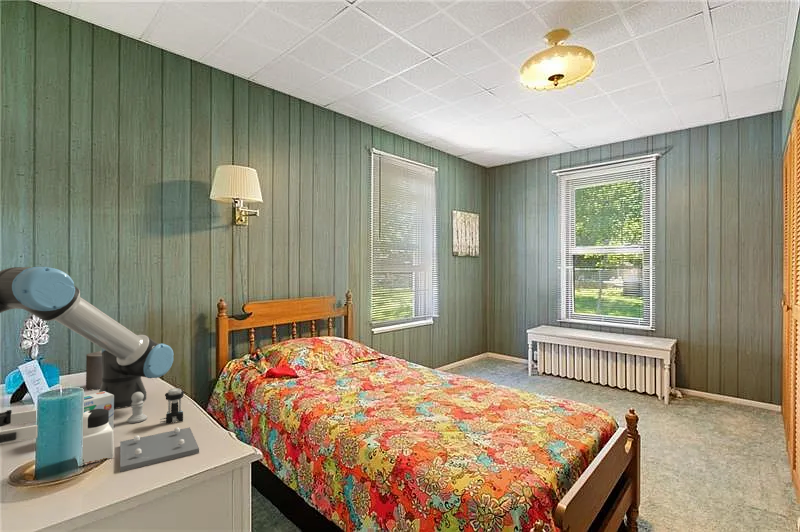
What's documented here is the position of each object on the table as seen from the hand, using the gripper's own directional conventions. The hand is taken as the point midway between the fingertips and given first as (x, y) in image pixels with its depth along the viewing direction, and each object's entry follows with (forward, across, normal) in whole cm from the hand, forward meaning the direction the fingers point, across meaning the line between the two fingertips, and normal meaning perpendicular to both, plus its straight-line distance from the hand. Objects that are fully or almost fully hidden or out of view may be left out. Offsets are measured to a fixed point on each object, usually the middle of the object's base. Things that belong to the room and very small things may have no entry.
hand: (42, 422), depth 97 cm
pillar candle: (+9, -77, -11) cm, 79 cm away
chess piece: (+20, -24, -11) cm, 33 cm away
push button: (+29, -16, -11) cm, 35 cm away
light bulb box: (+8, -20, -12) cm, 25 cm away
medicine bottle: (+10, 0, -12) cm, 15 cm away
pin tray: (+24, +4, -11) cm, 27 cm away
